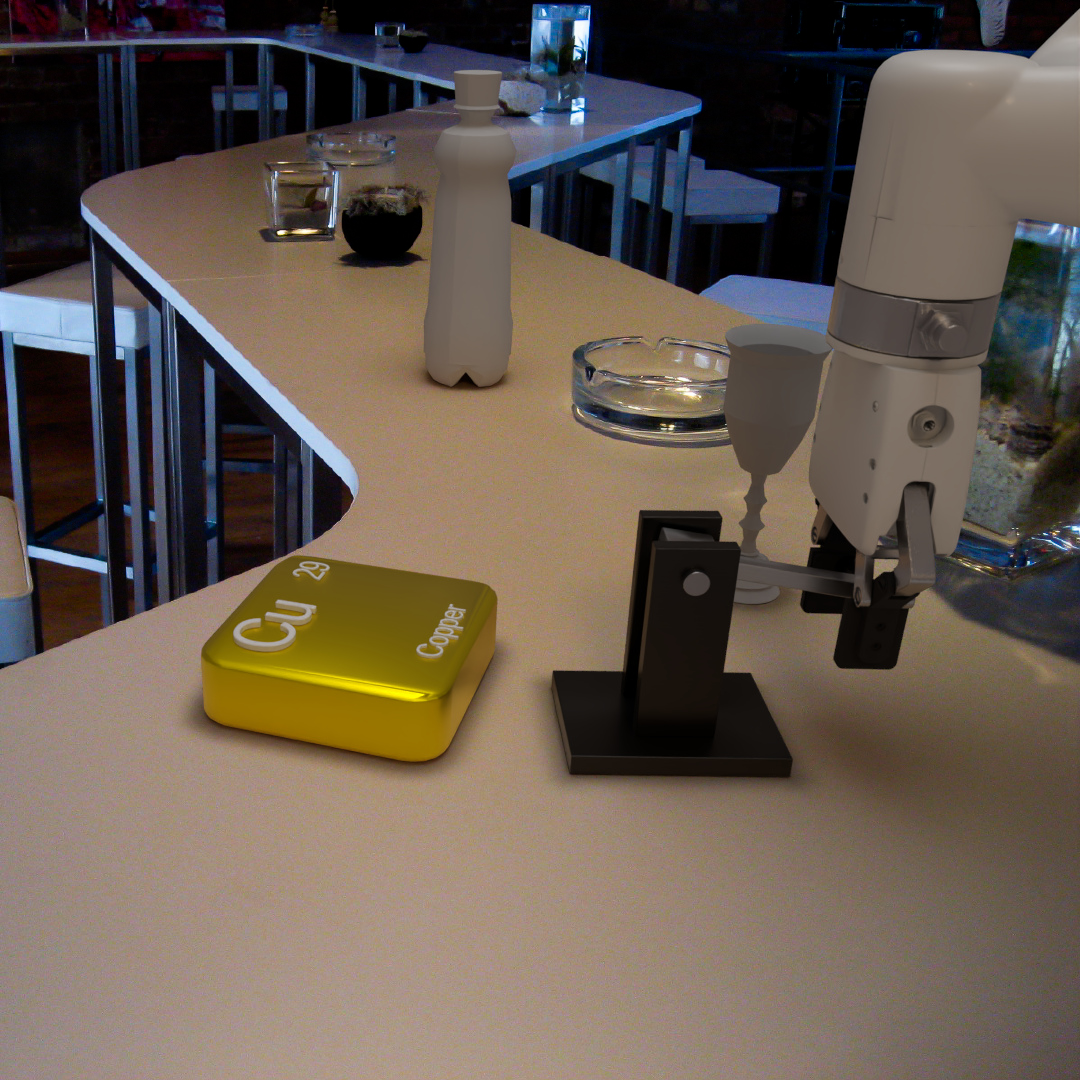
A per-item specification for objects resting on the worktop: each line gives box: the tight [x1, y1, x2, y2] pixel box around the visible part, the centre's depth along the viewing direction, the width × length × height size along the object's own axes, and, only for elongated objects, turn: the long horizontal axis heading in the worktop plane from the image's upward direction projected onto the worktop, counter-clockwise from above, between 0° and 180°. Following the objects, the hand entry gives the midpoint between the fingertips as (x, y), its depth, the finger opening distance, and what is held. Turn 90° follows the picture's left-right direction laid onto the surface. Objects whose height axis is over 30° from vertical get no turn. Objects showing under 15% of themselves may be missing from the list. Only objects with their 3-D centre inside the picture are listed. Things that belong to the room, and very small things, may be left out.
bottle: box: [423, 69, 517, 388], centre depth 125 cm, size 9×9×30 cm
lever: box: [658, 527, 875, 598], centre depth 69 cm, size 12×5×2 cm, turn 89°
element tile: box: [200, 554, 498, 763], centre depth 77 cm, size 15×15×5 cm
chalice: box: [723, 323, 834, 605], centre depth 85 cm, size 7×7×18 cm
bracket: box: [551, 509, 794, 778], centre depth 70 cm, size 12×9×13 cm
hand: (845, 635), depth 70 cm, fingers closed on lever, 5 cm apart
